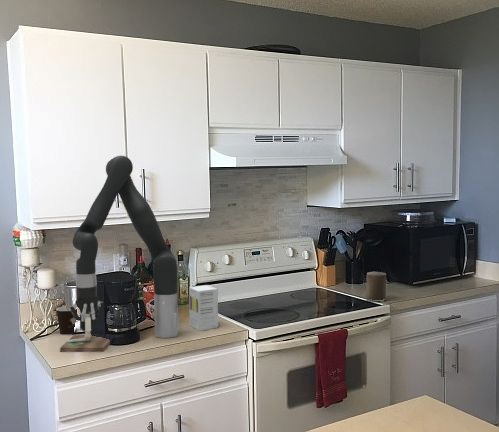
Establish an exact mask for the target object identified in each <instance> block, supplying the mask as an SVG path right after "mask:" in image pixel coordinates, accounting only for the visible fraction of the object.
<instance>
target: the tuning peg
mask: <svg viewBox="0 0 499 432" xmlns="http://www.w3.org/2000/svg"><path fill="white" fill-rule="evenodd" d="M84 321H85V331H84V335H85V338H83V339H73V340H69V339H67V340H66V342H75V341H90V340H91V335H92V334H91V331H92V329H91V317H90V314H89V313H86V315H85V319H84Z"/></svg>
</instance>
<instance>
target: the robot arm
mask: <svg viewBox="0 0 499 432" xmlns="http://www.w3.org/2000/svg"><path fill="white" fill-rule="evenodd" d="M133 167H134V165H133V162H132V160H131V159H130V158H129V157H128V156H126V155H117V156H114V157H113V158H111V159H110V160H108V161H107V163H106V165H105V174H106V179H105V182H104V184H103V186H102V188H101V189H100V191H99V193H98V194H97V196H96V197H95V199H94V201H93V203H92V205H91V206H90V209H89V210H88V213H87V214H86V216H85V219H84V220H83V222H82V223H81V225H79V227H78V228H77V230H76V231H75V233H74V235H73V237H72V245H73V247H74V248H75V250H77V251H80V255H79V258H77V259H76V262H75V270H76V271H75V273H76V274H75V293H76V294H75V295H76V300H75V303H73V305H68V306H69V309H70V311H71V313H72V314H73V316H74V318H75V319H76V320H78V321H79V328H80V330H81V331H82V332H85V321H84V319H85V315H86V314H87V312H88V314H90V317H91V330H95V329H94V328H95V327H96V319H97V318H100V317H101V314H102V312H103V309H104V307H105V304H106V303H105V302H104V301H100V300H99V299H98V287H97V286H98V285H97V283H98V282H97V273H96V272H97V271H96V259H97V255H98V248H99V241H98V238H97V236H96V235H95V233H96V232H97V231H99V230H101V229H102V228H103V226H104V224H105V223H106V220H107V219H108V218H107V217H109V216H108V215H109V213H110V211H111V210H112V207H113V205H114V202H115V201H116V198H117V196H118V195H119V198H120V199H121V202H122V204H123V206H124V209H125V212H126V213H127V215H128V218H129V220H130V222H131V224H132V226H133V227H134V229H135V231H136V233H137V234H138V236H139V238H141V240H142V241H143V242H144V244H145V246H146V247H147V249H148V252H149V254H150V256H151V260H152V263H153V268H152V269H153V272H152V273H153V297H154V298H153V300H154V301H153V303H154V307H153V309H154V336H155V337H156V338H162V339H163V338H165V339H169V338H177V337H178V335H179V334H180V333H179V332H180V330H179V328H180V327H179V324H180V322H179V320H180V319H179V309H178V307H179V306H178V262H177V259H176V257H175V255H174V254H173V252H172V251H171V249H170V247H169V246H168V245H167V242H166V241H165V239H164V237H163V234H162V232H161V228H160V226H159V223H158V220H157V218H156V216H155V213H154V211H153V210H152V207H151V206H150V204H149V203H148V201H147V200H146V199H145V198H144V196H143V195H142V194H141V193H140V191H139V190H138V188H137V187H136V185H135V183H134V181H133V179H132V177H131V175H132V172H133V171H134V170H133V169H134V168H133ZM76 307H78V308H79V309H78V310H79V315H78V314H77V313H76V311H75V310H76ZM96 307H97V308H96ZM95 308H96V310H95ZM79 316H80V317H79Z"/></svg>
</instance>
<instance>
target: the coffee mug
mask: <svg viewBox="0 0 499 432" xmlns="http://www.w3.org/2000/svg"><path fill="white" fill-rule="evenodd" d="M66 306H67V305H64V306H60V307H57V308H56V316H57V324H58V328H59V334H60V335H71V334H75V333H74V327H75V322H76V319H75V318H74V316H73V314H72V313H71V311H70V310H69V311H67V309H66ZM75 311H76V313H77V309H76V310H75Z"/></svg>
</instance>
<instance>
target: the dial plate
mask: <svg viewBox="0 0 499 432" xmlns="http://www.w3.org/2000/svg"><path fill="white" fill-rule="evenodd" d="M92 335H93V334H91V340H90V341H75V342H67V341H66V342H64V343H63V344H62V346H60V348H59V350H60V352H61V353H62V352H63V353H65V352H66V353H68V352H69V353H70V352H71V353H72V352H73V353H75V352H83V353H84V352H85V353H86V352H88V353H89V352H93V353H95V352H97V353H99V352H101V353H102V352H105V350H106V349H107V348H108V347H109V345H110V344H111V343H110V340H109V339H106V338H102V337H96V336H92ZM83 338H85V334H74V335H72V336H70V338H69V339H68V340H73V339H83Z"/></svg>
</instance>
